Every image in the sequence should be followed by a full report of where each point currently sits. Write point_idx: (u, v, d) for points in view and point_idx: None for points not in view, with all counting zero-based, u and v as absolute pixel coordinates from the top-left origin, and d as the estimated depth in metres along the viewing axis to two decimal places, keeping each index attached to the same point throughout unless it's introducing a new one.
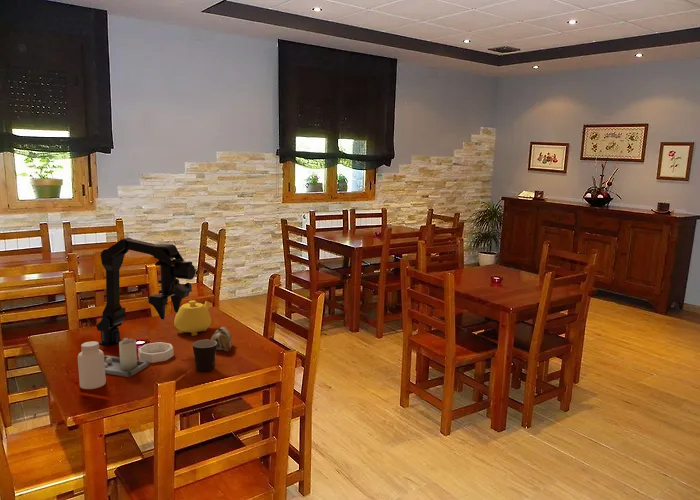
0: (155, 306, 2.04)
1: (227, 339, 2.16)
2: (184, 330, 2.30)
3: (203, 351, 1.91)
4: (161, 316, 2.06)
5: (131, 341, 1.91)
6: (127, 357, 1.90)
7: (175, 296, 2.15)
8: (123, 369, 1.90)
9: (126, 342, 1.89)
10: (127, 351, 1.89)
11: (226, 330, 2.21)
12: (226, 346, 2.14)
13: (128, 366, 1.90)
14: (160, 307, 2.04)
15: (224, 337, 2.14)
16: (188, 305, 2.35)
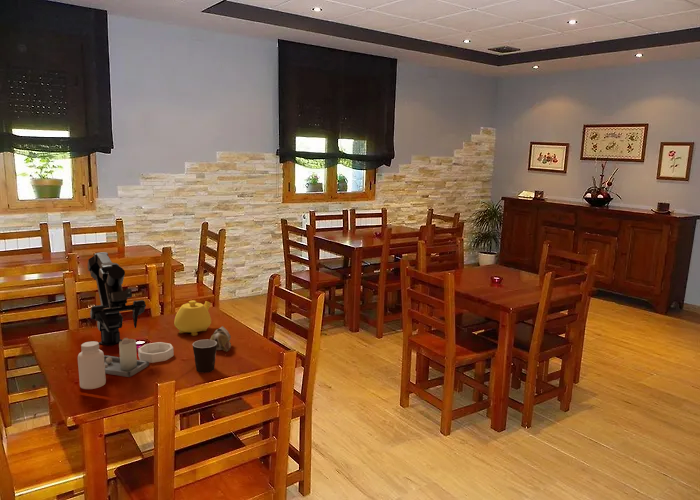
0: (100, 321, 1.97)
1: (226, 339, 2.16)
2: (184, 330, 2.30)
3: (203, 351, 1.91)
4: (106, 328, 1.95)
5: (131, 341, 1.91)
6: (127, 357, 1.89)
7: (133, 312, 2.03)
8: (123, 369, 1.90)
9: (126, 342, 1.89)
10: (127, 352, 1.89)
11: (225, 330, 2.21)
12: (225, 346, 2.14)
13: (128, 366, 1.90)
14: (103, 319, 1.96)
15: (223, 337, 2.14)
16: (188, 305, 2.35)
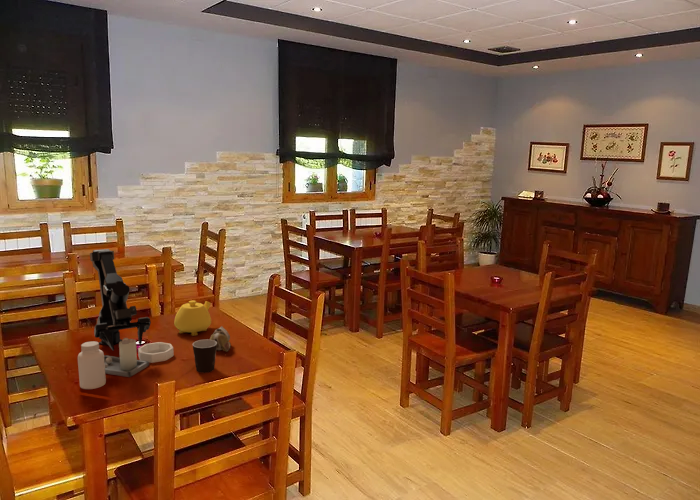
0: (104, 339, 1.93)
1: (226, 339, 2.15)
2: (184, 330, 2.30)
3: (203, 351, 1.91)
4: (111, 347, 1.90)
5: (131, 341, 1.91)
6: (127, 357, 1.90)
7: (138, 330, 1.99)
8: (123, 369, 1.90)
9: (126, 342, 1.89)
10: (127, 351, 1.89)
11: (224, 330, 2.21)
12: (225, 346, 2.14)
13: (128, 366, 1.90)
14: None
15: (223, 337, 2.14)
16: (188, 305, 2.35)
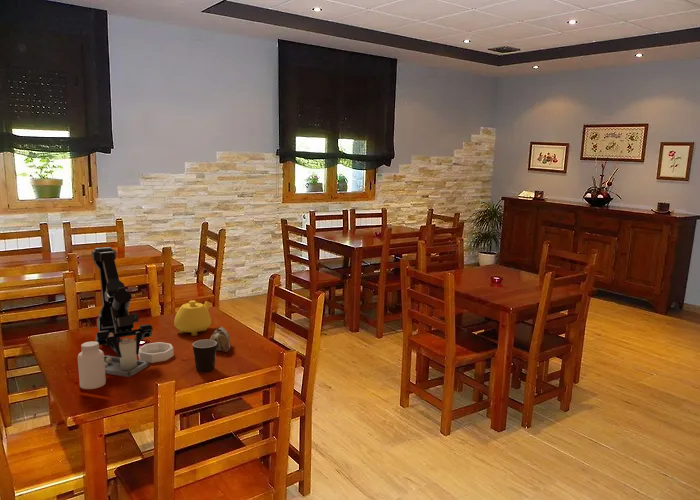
0: (111, 346, 1.92)
1: (226, 339, 2.15)
2: (184, 330, 2.30)
3: (203, 351, 1.91)
4: (117, 354, 1.90)
5: (131, 341, 1.91)
6: (127, 357, 1.90)
7: (135, 338, 1.96)
8: (123, 369, 1.90)
9: (126, 342, 1.89)
10: (127, 351, 1.89)
11: (224, 330, 2.21)
12: (225, 346, 2.14)
13: (128, 366, 1.90)
14: (114, 344, 1.91)
15: (223, 337, 2.14)
16: (188, 305, 2.35)
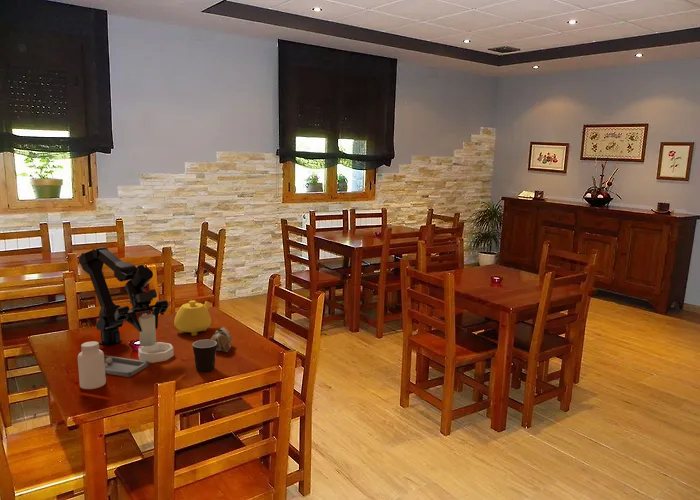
0: (130, 321, 1.98)
1: (227, 340, 2.15)
2: (184, 330, 2.30)
3: (203, 351, 1.91)
4: (138, 328, 1.97)
5: (151, 316, 1.98)
6: (147, 331, 1.97)
7: (152, 313, 2.03)
8: (143, 343, 1.98)
9: (146, 317, 1.97)
10: (148, 326, 1.97)
11: (226, 331, 2.21)
12: (225, 347, 2.13)
13: (148, 340, 1.98)
14: (133, 319, 1.98)
15: (224, 338, 2.13)
16: (188, 305, 2.35)
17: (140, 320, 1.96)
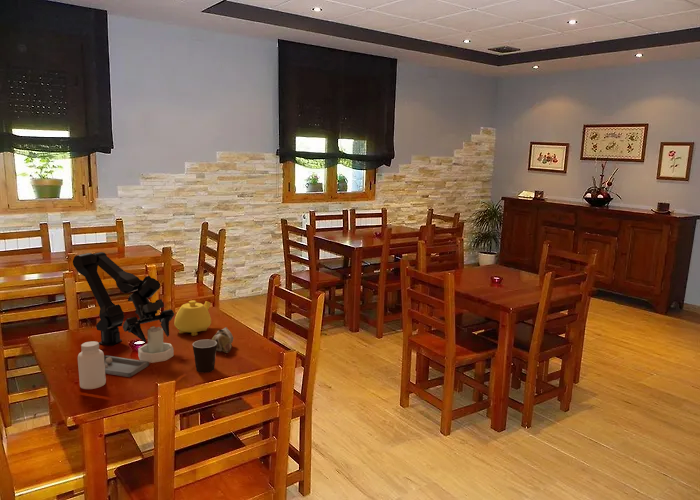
0: (134, 332, 2.02)
1: (227, 340, 2.14)
2: (184, 330, 2.30)
3: (203, 351, 1.92)
4: (142, 339, 2.01)
5: (159, 329, 2.04)
6: (156, 344, 2.03)
7: (162, 322, 2.10)
8: None
9: (155, 330, 2.03)
10: (157, 339, 2.02)
11: (228, 331, 2.20)
12: (226, 347, 2.13)
13: (157, 352, 2.03)
14: (137, 330, 2.01)
15: (224, 338, 2.13)
16: (188, 305, 2.35)
17: (149, 333, 2.02)
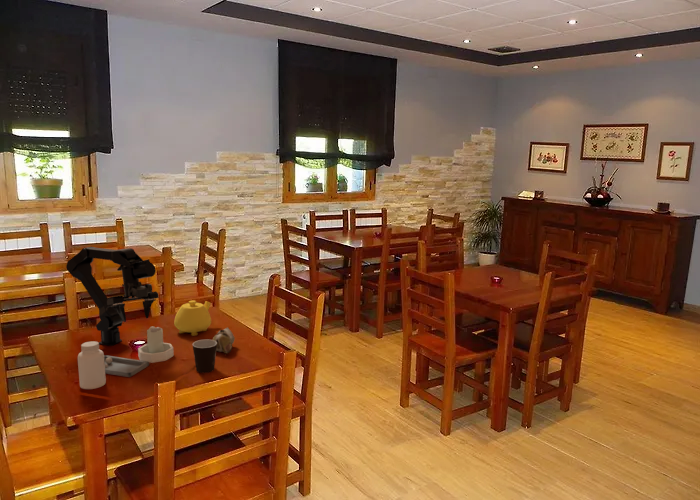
0: (116, 308, 2.07)
1: (228, 341, 2.14)
2: (184, 330, 2.30)
3: (203, 351, 1.91)
4: (122, 318, 2.06)
5: (159, 329, 2.04)
6: (156, 344, 2.03)
7: (145, 302, 2.15)
8: None
9: (155, 330, 2.02)
10: (156, 339, 2.02)
11: (229, 332, 2.20)
12: (226, 348, 2.12)
13: (157, 352, 2.03)
14: None
15: (225, 339, 2.13)
16: (188, 305, 2.35)
17: (149, 333, 2.02)
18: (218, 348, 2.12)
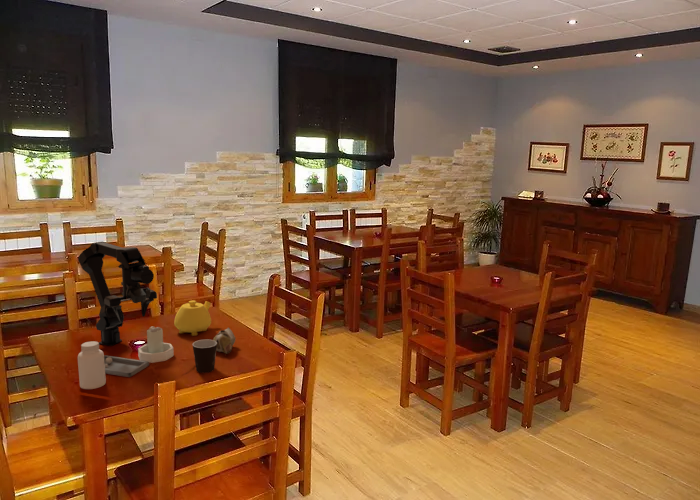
0: (113, 307, 2.06)
1: (228, 341, 2.13)
2: (184, 330, 2.30)
3: (203, 351, 1.91)
4: (118, 318, 2.07)
5: (159, 329, 2.04)
6: (156, 344, 2.03)
7: None
8: None
9: (155, 330, 2.02)
10: (156, 339, 2.02)
11: (230, 332, 2.19)
12: (226, 348, 2.12)
13: (157, 352, 2.03)
14: None
15: (225, 339, 2.12)
16: (188, 305, 2.35)
17: (148, 333, 2.02)
18: (218, 348, 2.12)
